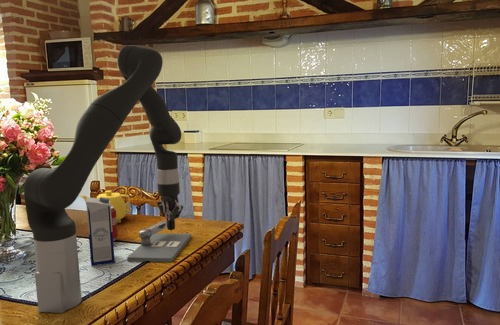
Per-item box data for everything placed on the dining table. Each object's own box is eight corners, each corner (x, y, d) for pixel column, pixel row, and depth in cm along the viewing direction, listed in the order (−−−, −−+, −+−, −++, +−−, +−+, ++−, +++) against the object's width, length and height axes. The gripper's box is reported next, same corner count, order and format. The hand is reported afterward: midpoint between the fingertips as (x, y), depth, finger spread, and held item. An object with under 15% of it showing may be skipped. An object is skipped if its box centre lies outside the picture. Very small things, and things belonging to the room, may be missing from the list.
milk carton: (91, 258, 132) (86, 196, 129) (113, 255, 134) (109, 194, 131) (91, 266, 125) (86, 201, 122) (114, 262, 128) (110, 198, 125)
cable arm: (172, 226, 151) (171, 220, 150) (146, 239, 137) (146, 232, 137) (163, 225, 152) (162, 219, 152) (136, 237, 139) (136, 231, 139)
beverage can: (112, 243, 146) (109, 210, 144) (95, 242, 147) (93, 209, 145) (121, 237, 152) (119, 205, 150) (105, 237, 153) (103, 205, 151)
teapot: (132, 223, 170) (130, 192, 169) (79, 228, 165) (76, 196, 163) (131, 214, 183) (130, 186, 182) (83, 219, 178) (80, 189, 176)
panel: (171, 262, 127) (171, 250, 127) (127, 261, 129) (126, 249, 128) (191, 236, 151) (191, 226, 150) (154, 236, 152) (153, 226, 152)
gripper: (188, 181, 143) (191, 230, 146) (166, 177, 153) (169, 223, 155) (170, 185, 138) (173, 235, 141) (148, 181, 147) (151, 228, 150)
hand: (171, 229), depth 148 cm, fingers closed
